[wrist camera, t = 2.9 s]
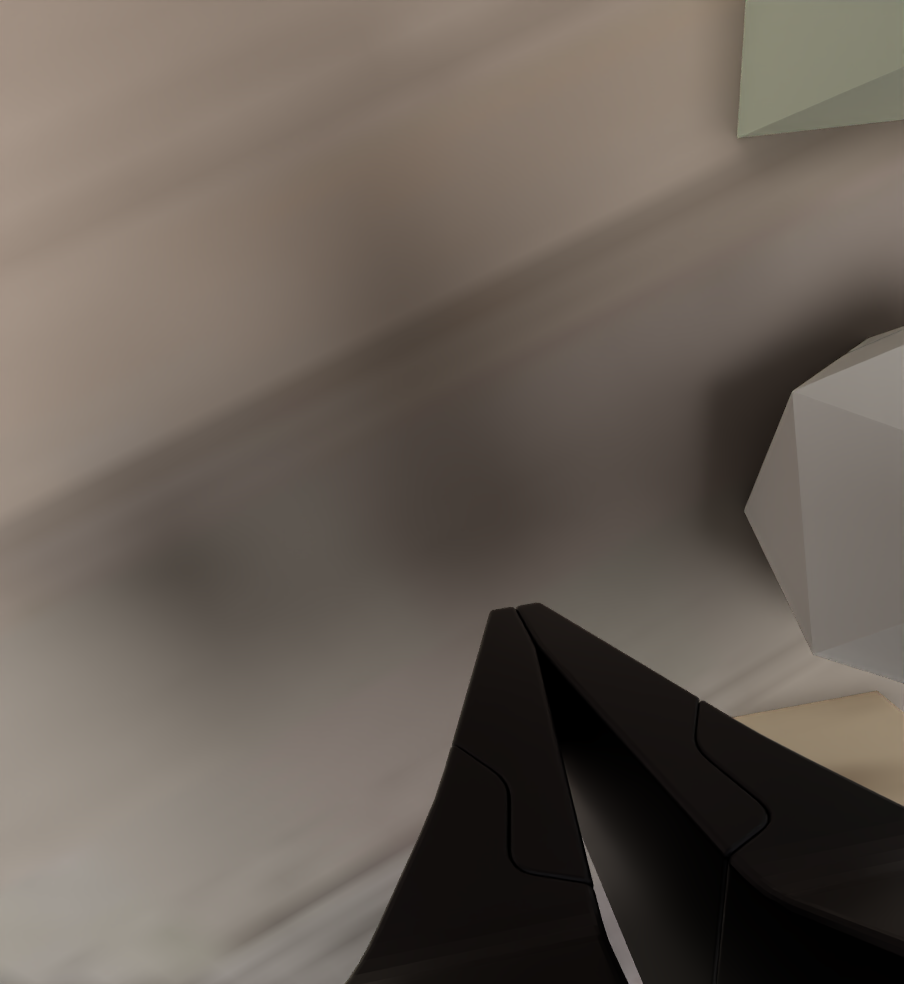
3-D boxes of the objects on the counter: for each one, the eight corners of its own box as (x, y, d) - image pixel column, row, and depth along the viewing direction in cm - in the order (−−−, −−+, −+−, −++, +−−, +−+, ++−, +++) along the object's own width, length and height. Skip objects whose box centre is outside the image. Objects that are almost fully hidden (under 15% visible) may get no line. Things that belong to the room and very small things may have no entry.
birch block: (851, 799, 19) (998, 960, 15) (718, 826, 19) (827, 999, 14) (874, 689, 18) (1050, 832, 13) (729, 716, 17) (856, 872, 13)
